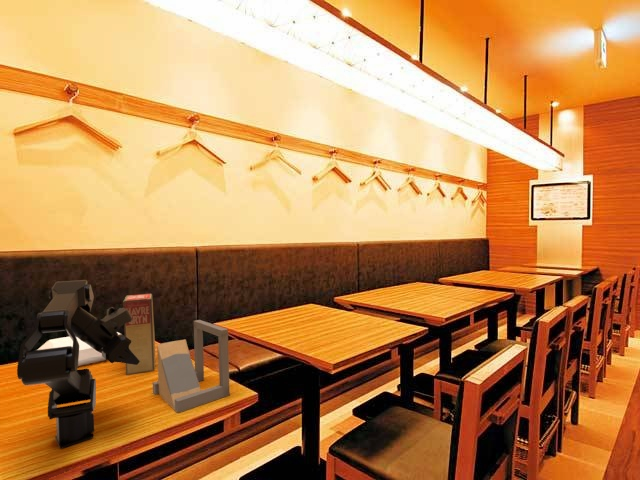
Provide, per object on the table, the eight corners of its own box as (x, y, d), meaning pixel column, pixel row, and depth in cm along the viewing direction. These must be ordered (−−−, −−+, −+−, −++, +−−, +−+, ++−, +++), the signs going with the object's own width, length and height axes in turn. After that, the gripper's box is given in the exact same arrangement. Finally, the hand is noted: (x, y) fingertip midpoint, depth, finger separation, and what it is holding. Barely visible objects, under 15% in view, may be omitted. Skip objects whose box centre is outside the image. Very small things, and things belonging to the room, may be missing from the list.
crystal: (130, 332, 145) (40, 348, 126) (131, 357, 145) (41, 377, 126) (119, 326, 156) (35, 340, 136) (120, 349, 156) (35, 366, 137)
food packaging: (127, 363, 138) (125, 295, 137) (155, 359, 141) (153, 293, 141) (124, 375, 125) (122, 300, 125) (155, 371, 129) (153, 298, 129)
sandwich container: (175, 413, 98) (173, 356, 98) (157, 395, 110) (156, 344, 110) (206, 404, 104) (205, 349, 104) (187, 387, 116) (185, 338, 116)
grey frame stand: (177, 412, 98) (175, 340, 98) (153, 392, 111) (151, 328, 111) (229, 395, 108) (227, 329, 108) (201, 378, 121) (199, 319, 121)
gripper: (120, 303, 88) (169, 340, 96) (100, 295, 102) (144, 328, 110) (82, 344, 83) (137, 380, 91) (66, 330, 97) (115, 362, 105)
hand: (134, 360), depth 99 cm, fingers open, 6 cm apart
